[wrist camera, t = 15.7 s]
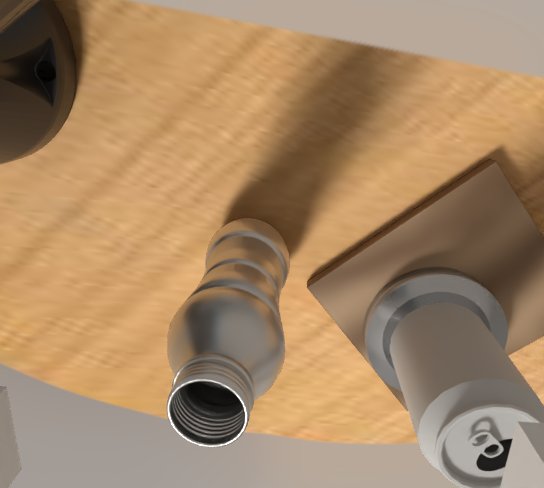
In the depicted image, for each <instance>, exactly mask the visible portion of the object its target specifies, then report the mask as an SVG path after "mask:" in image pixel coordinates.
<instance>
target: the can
mask: <svg viewBox="0 0 544 488" xmlns="http://www.w3.org/2000/svg"><path fill="white" fill-rule="evenodd" d="M390 353H391V357H392V361H393V364H394V367H395V371H396V374H397V377H398V380H399V383H400V386H401V389H402V392H403V396H404V399H405V402H406V405H407V408H408V411H409V414H410V417H411V420H412V424H413V427H414V430H415V433H416V436H417V439H418V442H419V445H420V448H421V452H422V453H423V454H424V456H425V457H426V458H427V460H428V461H429V462H430V464H431V465H432V466H434V467H435V468H437V469H438V470H440V471H441V472H442V473H443V475H444V476H445V477H446V478H447V479H448V480H450V481H451V482H453V483H454V484H456V485H457V486H459V487H462V488H500V485H501V482H502V478H503V474H504V470H505V466H506V463H507V459H508V455H509V451H510V448H511V444H512V440H513V436H514V432H515V429H516V425H517V421H519V422H534V423H544V406H543V404H542V403H541V401H540V400H539V398H538V396H537V395H536V394H535V392H534V391H533V390H532V388H531V387H530V386H529V384H528V383H527V381H526V380H525V379H524V377H523V376H522V375H521V373H520V372H519V371H518V369H517V368H516V366H515V365H514V364H513V362H512V361H511V360H510V358H509V357H508V356H507V354H506V353H505V351H504V350H503V349H502V347H501V346H500V345H499V343H498V342H497V341H496V339H495V338H494V336H493V335H492V334H491V332H490V331H489V330H488V328H487V327H486V326H485V324H484V323H483V321H482V320H481V319H480V317H479V316H478V315H476V314H475V313H474V312H472V311H471V310H470V309H468V308H466V307H463V306H460V305H457V304H454V303H433V304H429V305H425V306H421V307H419V308H418V309H416V310H414V311H412V312H410V313H409V314H407V315H406V316H405V317H404V318H403V319H402V320H401V321H400V322H399V323H398V325H397V326H396V328H395V330H394V332H393V334H392V336H391V343H390Z"/></svg>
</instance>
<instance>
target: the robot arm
mask: <svg viewBox="0 0 544 488" xmlns="http://www.w3.org/2000/svg"><path fill="white" fill-rule="evenodd" d="M75 86H76V65H75V57H74V51H73V46H72V43H71V39H70V36H69V33H68V30H67V27H66V25H65V23H64V21H63V18H62V16H61V14H60V13H59V11H58V9H57V7H56V6H55V4H54V2H53V1H52V0H0V164H3V163H7V162H10V161H14V160H17V159H20V158H23V157H26V156H28V155H30V154H33V153H34V152H36V151H38V150H39V149H41V148H42V147H44V146H45V145H46V144H47V143H49V142H50V141H51V140H52V139H53V138H54V137H55V135H56V134H57V133H58V132H59V130H60V129H61V127H62V126H63V124H64V122H65V121H66V118H67V116H68V114H69V112H70V109H71V106H72V102H73V98H74V93H75ZM20 470H21V464H20V459H19V453H18V447H17V442H16V436H15V431H14V426H13V420H12V415H11V410H10V403H9V398H8V393H7V387H2V386H0V488H8V487H9V486H10V484H11V483H12V481H13V480H14V479H15V477H16V476H17V474H18V473H19V472H20ZM500 488H544V423H534V422H519V421H517V425H516V429H515V432H514V436H513V440H512V444H511V448H510V451H509V455H508V459H507V463H506V466H505V470H504V474H503V478H502V482H501V485H500Z"/></svg>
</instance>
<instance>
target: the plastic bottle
mask: <svg viewBox="0 0 544 488" xmlns="http://www.w3.org/2000/svg"><path fill="white" fill-rule="evenodd" d="M289 269H290V258H289V253H288V250H287V247H286V244H285V242H284V240H283V238H282V237H281V235H280V234H279V233H278V232H277V230H276V229H274V228H273V227H272V226H271V225H269V224H267V223H266V222H264V221H261V220H258V219H253V218H241V219H237V220H234V221H232V222H230V223H228V224H226V225H225V226H224V227H222V228H221V229H220V230H219V231H217V232H216V234H215V235H214V236H213V237H212V239H211V241H210V243H209V246H208V250H207V254H206V270H205V274H204V277H203V279H202V280H201V282H200V284H199V285H198V287H197V289H196V290H195V291H194V292H193V293H192V294H191V296H190V297H189V298H188V299H187V300H186V301H185V302H184V303H183V305H182V306H181V307H180V308H179V310H178V311H177V313H176V314H175V316H174V318H173V320H172V322H171V324H170V326H169V331H168V335H167V352H168V359H169V364H170V367H171V369H172V371H173V374H174V376H175V377H174V380H173V384H172V390H171V392H170V394H169V398H168V402H167V414H168V419H169V421H170V423H171V425H172V427H173V428H174V429H175V430H176V432H177V433H178V434H179V435H180V436H181V437H183V438H184V439H186V440H187V441H189V442H191V443H193V444H196V445H199V446H202V447H221V446H226V445H228V444H231V443H233V442H234V441H236V440H237V439H238V438H239V437H240V436H241V435H242V434H243V432H244V431H245V429H246V427H247V424H248V421H249V416H250V411H251V410H252V407H253V404H254V400H256V399H257V398H259V397H260V396H262V395H263V394H265V393H266V392H267V391H268V390H269V389H270V388H271V386H272V385H273V383H274V381H275V380H276V378H277V376H278V375H279V373H280V371H281V369H282V366H283V363H284V358H285V341H284V332H283V328H282V323H281V318H280V313H279V297H280V293H281V290H282V288H283V286H284V285H285V282H286V279H287V276H288V273H289Z"/></svg>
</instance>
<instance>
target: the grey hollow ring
mask: <svg viewBox="0 0 544 488" xmlns="http://www.w3.org/2000/svg"><path fill="white" fill-rule="evenodd" d="M433 303H454V304H457V305H460V306H463V307H466V308H468V309H470V310H471V311H472V312H474V313H475V314H476V315H478V316H479V317H480V319H481V320H482V321H483V323H484V324H485V326H486V327H487V328H488V330H489V331H490V332H491V334H492V335H493V336H494V338H495V339H496V341H497V342H498V343H499V345H500V346H501V347H502V349H503V350H505V347H506V343H507V337H508V325H507V321H506V317H505V314H504V311H503V309H502V307H501V306H500V304H499V302H498V301H497V300H496V299H495V298H494V296H493V295H492V294H491V293H490V292H489V291H488V289H487V288H486V287H485V286H484V285H483V284H482V283H481V282H480V281H478V280H477V279H475V278H474V277H472V276H471V275H469V274H467V273H465V272H462V271H459V270H456V269H451V268H444V267H428V268H421V269H417V270H413V271H410V272H408V273H405V274H403V275H401V276H399V277H397V278H395V279H393V280H392V281H391V282H389V283H388V284H387V285H385V286H384V287H383V288H382V289H381V290H380V291H379V292H378V294H377V295H376V296H375V297H374V299H373V300H372V302H371V303H370V305H369V307H368V310H367V312H366V315H365V319H364V325H363V335H364V342H365V346H366V350H367V354H368V357H369V360H370V362H371V364H372V366H373V368H374V370H375V371H376V373H377V374H378V375H379V376H380V377H381V378H382V379H383V380H384V381H385V382H386V383H388V384H389V385H390V386H392V387H394V388H395V389H397V390H399V391H402V389H401V386H400V383H399V380H398V377H397V374H396V371H395V367H394V364H393V361H392V357H391V353H390V343H391V336H392V334H393V332H394V330H395V328H396V326H397V325H398V323H399V322H400V321H401V320H402V319H403V318H404V317H405V316H406V315H407V314H409V313H410V312H412V311H414V310H416V309H418V308H419V307H421V306H425V305H429V304H433Z"/></svg>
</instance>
